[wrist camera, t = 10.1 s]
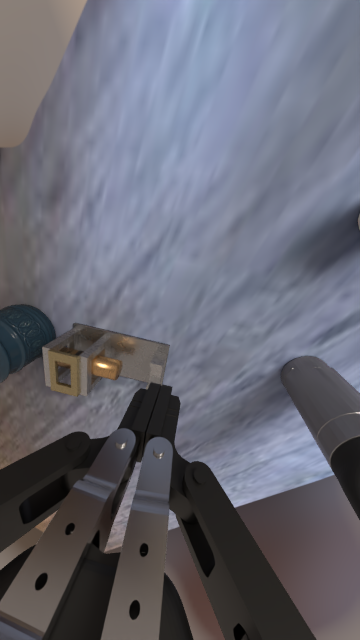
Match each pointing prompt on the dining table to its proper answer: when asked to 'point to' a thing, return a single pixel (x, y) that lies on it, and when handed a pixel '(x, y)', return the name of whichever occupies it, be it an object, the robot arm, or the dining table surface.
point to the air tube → (97, 364)
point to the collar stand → (135, 353)
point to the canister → (22, 337)
